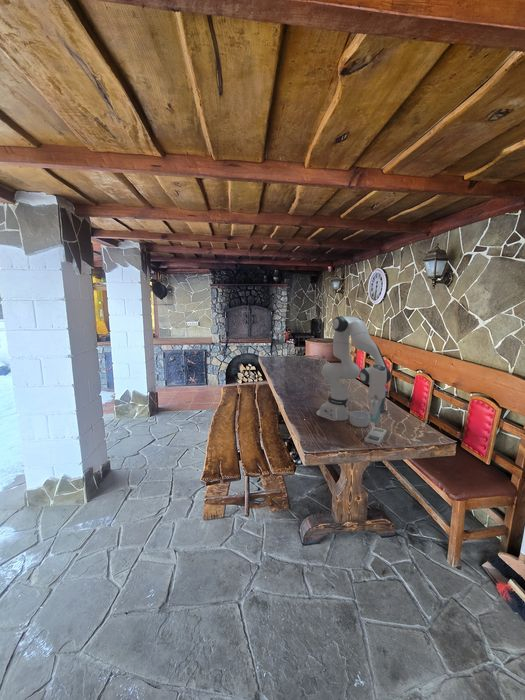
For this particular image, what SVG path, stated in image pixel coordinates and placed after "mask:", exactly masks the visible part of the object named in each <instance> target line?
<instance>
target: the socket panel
mask: <svg viewBox="0 0 525 700" xmlns="http://www.w3.org/2000/svg"><path fill="white" fill-rule="evenodd" d="M387 431H388V430H387V429H383V428H381V427H377V426H373V427H372V428H371V430H370V431H369V432H368V433H367V435H366V436H365V437H364V440H363V441H364V442H366V443H369V444H374V445H376V446H380V444H381V443H382V441H383V439H384V437H385V436H386V434H387Z"/></svg>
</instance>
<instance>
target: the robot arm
mask: <svg viewBox="0 0 525 700" xmlns="http://www.w3.org/2000/svg"><path fill="white" fill-rule="evenodd" d="M332 328H333V331H334V332H333V338H332V339H333V340H332V355H333V356H334V357H335V358H337V359H339V361H340V362H339V363H338V362H329V363H324V364H323V366H322V368H321V374H322V375H323V378H325V380H327V381H328V382H329V384H330V395H329V396H328V397H327V400H328V401H326V402H324V403H323V404H321V406H320V408H319V409H318V410H317V411H316V416H319V417H322V418H324V419H328V420H329V421H334V422H335V421H336V422H337V421H347V420H348V419H349V414H348V406H349V398H348V393H349V392H348V391H349V388H348V386H347V385H346V384H344V383H342V382H341V381H340V380H354V379H357V378H359V380H360V382H361V383H362V384H364V385H365V384H366V385H369V387H368V397H370V399H371V401H370V406H369V413H370V414H372V418H374V419H376V414H377V412H378V410H379V407H380V405H381V402H382V399H383V398H385V391H386V389H387V388H386V385H387V384H388V383H389V382H390V381H391V379H392V372H391V370H390V369H389V367H388V366H387V362H386V361H385V358H384V357H383V354H382V352H381V350H380V348H379V345H378V344H377V343H376V342H374V341H373V340H372V338H371V335H370V332H369V329H368V327H367V324H366V322H365V320H364V319H363V318H361V317H356V316H349V315H348V316H343V315H341V316H340V315H339V316H335V318H334V319H333V320H332ZM350 339H351V343H352V345H353V347H354V348H355V349H357V350H358V351H361V352H364V353H366V354H369V355H370V356H371V357H372V358H373V361H374V364H373V365H371V366H370V367H364V368H362V369H360V367H359V365H358V364H356V363H355V362H354V361H353V359H352V356H351V355H350V353H351V352H350ZM385 399H386V398H385ZM370 414H369V415H370Z"/></svg>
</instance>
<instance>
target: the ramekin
mask: <svg viewBox="0 0 525 700" xmlns="http://www.w3.org/2000/svg"><path fill="white" fill-rule="evenodd" d="M348 417H349V423H350V425H352V426H354V427H356V428H366V427H368V426H369V423H370V414H369V413H367V412H365V411H361V410H360V411H359V410H353V411H350V412H349V414H348Z"/></svg>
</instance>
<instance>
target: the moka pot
mask: <svg viewBox="0 0 525 700" xmlns="http://www.w3.org/2000/svg"><path fill="white" fill-rule="evenodd" d="M389 393H390V391H389V390H388V388H386V391H385V398H383V399H382V402H381V405H380V407H379V409H380V414H382V413H385V410H386V408H385V405H386V404H385V403H386V402H385V401H386V398H387V396H388V394H389Z"/></svg>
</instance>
